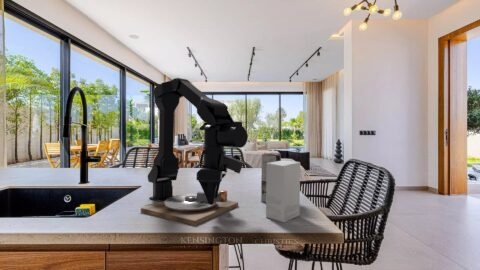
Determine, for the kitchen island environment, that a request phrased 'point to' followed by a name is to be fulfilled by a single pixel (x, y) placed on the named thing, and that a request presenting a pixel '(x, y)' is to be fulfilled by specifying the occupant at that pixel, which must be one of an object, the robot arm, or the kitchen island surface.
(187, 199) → the handwheel
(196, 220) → the wheel base
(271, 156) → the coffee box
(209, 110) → the robot arm
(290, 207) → the skincare box
